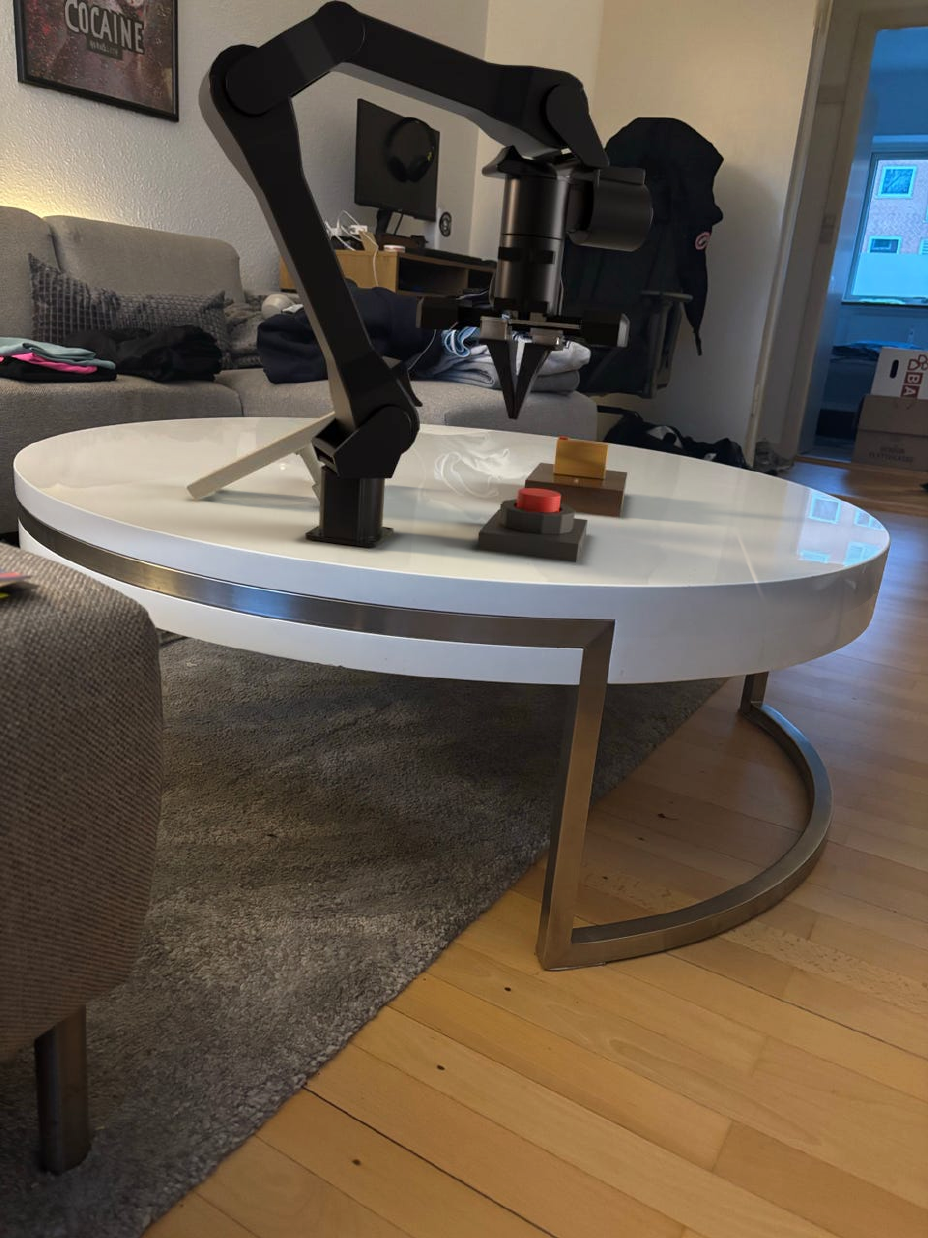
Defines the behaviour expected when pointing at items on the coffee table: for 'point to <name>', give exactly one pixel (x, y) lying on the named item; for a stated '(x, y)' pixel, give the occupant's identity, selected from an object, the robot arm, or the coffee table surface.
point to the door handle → (267, 460)
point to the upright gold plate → (581, 458)
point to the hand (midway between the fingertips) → (513, 418)
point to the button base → (534, 532)
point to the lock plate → (582, 490)
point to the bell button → (538, 500)
